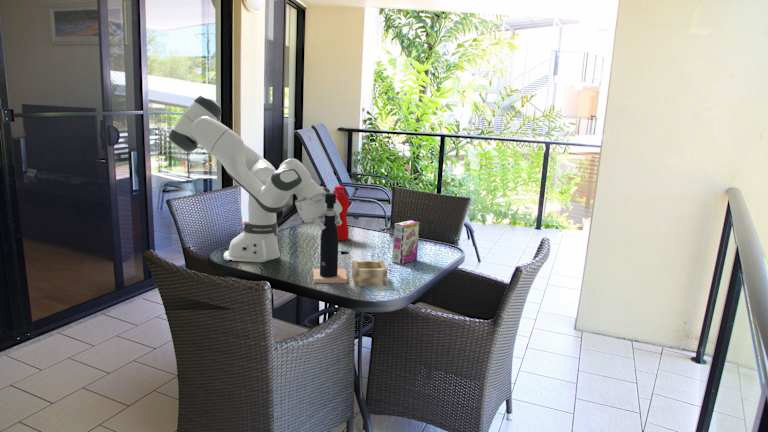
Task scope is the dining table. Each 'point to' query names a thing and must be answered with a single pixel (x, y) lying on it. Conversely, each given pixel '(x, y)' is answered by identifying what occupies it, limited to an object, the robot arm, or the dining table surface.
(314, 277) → the terracotta tile
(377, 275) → the bottle collar
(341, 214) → the water bottle
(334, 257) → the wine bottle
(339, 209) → the robot arm
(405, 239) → the candy bar box
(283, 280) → the dining table surface
